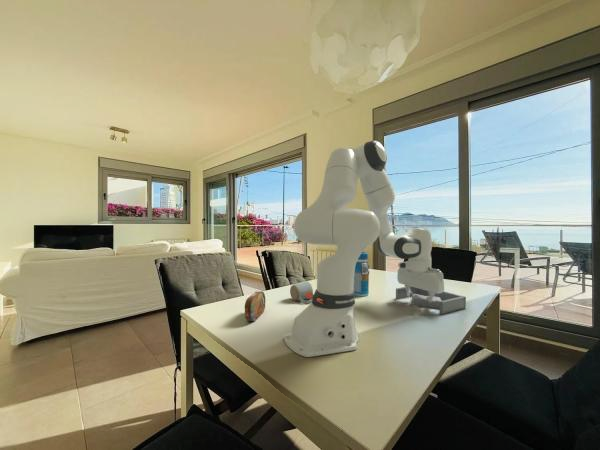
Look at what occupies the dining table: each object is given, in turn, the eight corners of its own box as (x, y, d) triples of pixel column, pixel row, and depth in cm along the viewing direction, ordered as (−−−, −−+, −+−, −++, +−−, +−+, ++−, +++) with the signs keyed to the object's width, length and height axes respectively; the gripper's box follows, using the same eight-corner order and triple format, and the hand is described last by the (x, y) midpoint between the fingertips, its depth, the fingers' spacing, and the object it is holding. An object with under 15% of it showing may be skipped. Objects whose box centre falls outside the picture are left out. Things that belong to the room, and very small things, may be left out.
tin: (251, 325, 89) (251, 300, 89) (242, 324, 90) (242, 299, 89) (266, 310, 104) (266, 288, 104) (258, 309, 104) (258, 288, 104)
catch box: (442, 314, 101) (442, 302, 100) (395, 298, 120) (395, 288, 120) (465, 307, 108) (465, 296, 108) (418, 293, 127) (418, 284, 127)
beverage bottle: (349, 295, 124) (350, 253, 124) (352, 290, 132) (352, 251, 132) (368, 297, 121) (368, 254, 121) (369, 292, 129) (370, 251, 129)
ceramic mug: (288, 298, 119) (289, 281, 118) (304, 295, 123) (304, 279, 123) (301, 305, 110) (301, 287, 109) (317, 302, 114) (317, 285, 114)
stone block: (410, 303, 119) (411, 305, 110) (410, 292, 120) (411, 294, 111) (439, 308, 115) (443, 310, 105) (440, 296, 115) (443, 298, 106)
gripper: (448, 269, 103) (447, 304, 103) (405, 261, 121) (404, 291, 121) (438, 271, 100) (437, 307, 100) (395, 262, 118) (394, 293, 118)
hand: (419, 298), depth 111 cm, fingers open, 8 cm apart
